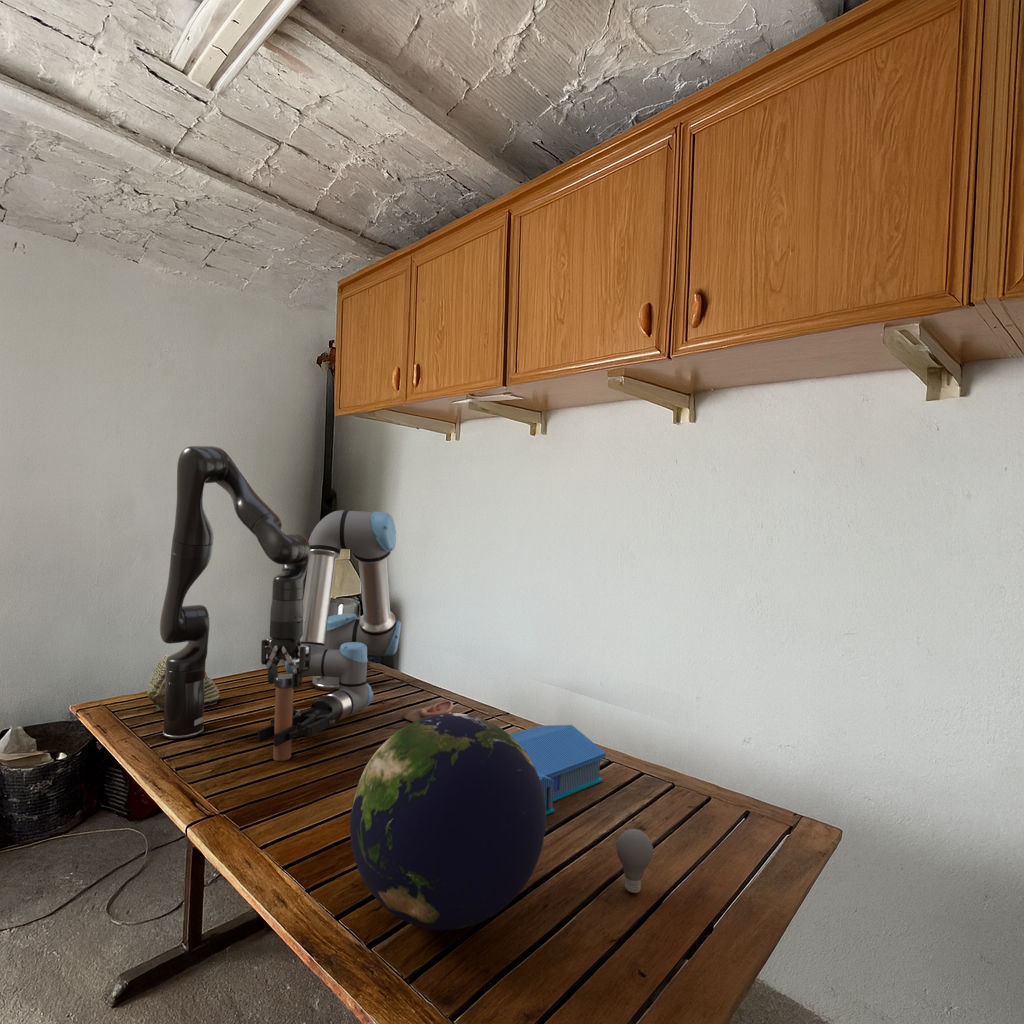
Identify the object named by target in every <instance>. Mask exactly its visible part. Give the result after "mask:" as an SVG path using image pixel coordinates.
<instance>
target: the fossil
mask: <svg viewBox="0 0 1024 1024" xmlns="http://www.w3.org/2000/svg"><path fill="white" fill-rule="evenodd" d="M171 655H172V654H165V655H164V656H163V657H162V658H161V659H160V660H159V662H158V663H157V666H156V667H155V669H154V670H153V672H152V675H151V677H150V680H149V684H148V688H147V697H148V699H149V700H150V701H152V703H153V704H154V706H155V711H158V712H159V711H162V712H163V711H164V705H165V674H166V660H167V658H168V657H169V656H171ZM220 698H221V696H220V690H219V688H218V686H217V685H216V683H215V682H214V681H213V679H212V678H211V677H209V675H208V674H207V672H206V671H205V693H204V707H207V706H213V705H215V704H217V703H218V701H219V699H220Z"/></svg>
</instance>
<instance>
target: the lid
mask: <svg viewBox="0 0 1024 1024" xmlns="http://www.w3.org/2000/svg"><path fill="white" fill-rule="evenodd" d="M273 685H274V687H275V688H276V687H279V688H287V687H292V674H288V673H280V674H279V673H278V675H276V676H275V679H274V683H273Z"/></svg>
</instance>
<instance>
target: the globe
mask: <svg viewBox="0 0 1024 1024" xmlns="http://www.w3.org/2000/svg"><path fill="white" fill-rule="evenodd" d="M349 826H350V827H349V832H350V833H349V834H350V844H351V850H352V854H353V858H354V862H355V865H356V867H357V870H358V872H359V875H360V877H361V879H362V880H363V882H364V884H365V886H366V887H367V889H368V890H369V892H370V893H371V895H372V896H373V897H374V899H376V900H377V902H378V903H379V904H380V905H382V907H383V908H384V909H386V911H388V912H390V913H391V914H392V915H393V916H395V917H397V918H398V919H400V920H402V921H403V922H406V923H408V924H410V925H413V926H416V927H418V928H423V929H426V930H433V931H434V930H435V931H454V930H460V929H464V928H469V927H472V926H475V925H478V924H481V923H483V922H484V921H487V920H488V919H490V918H492V917H494V916H495V915H496V914H498V913H500V912H501V911H503V910H504V909H505V908H506V907H507V906H508V905H509V904H511V903H512V902H513V900H515V898H516V897H517V896H518V895H519V894H520V892H521V891H522V890H523V889H524V887H525V886H526V884H527V883H528V882H529V880H530V877H531V876H532V875H533V872H534V870H535V868H536V867H537V865H538V862H539V858H540V856H541V853H542V849H543V845H544V840H545V835H546V826H547V815H546V807H545V799H544V794H543V789H542V785H541V782H540V779H539V776H538V774H537V771H536V768H535V766H534V764H533V763H532V761H531V759H530V758H529V756H528V754H527V753H526V752H525V750H524V749H523V748H522V747H521V745H520V744H519V743H518V742H517V741H516V740H515V739H514V738H513V737H512V736H511V735H510V733H508V732H507V731H506V730H504V729H503V728H501V727H500V726H498V725H497V724H495V723H493V722H491V721H488V720H486V719H484V718H482V717H479V716H475V715H470V714H466V713H459V712H458V713H457V712H455V713H452V714H439V715H434V716H429V717H426V718H423V719H420V720H418V721H415V722H411V723H409V724H407V725H405V726H404V727H402V728H400V729H399V730H397V731H396V732H395V733H393V734H392V735H391V736H390V737H388V738H387V739H386V740H385V741H384V742H383V743H382V744H381V745H380V746H379V748H378V749H377V750H376V751H375V752H374V753H373V755H372V756H371V757H370V759H369V761H368V762H367V764H366V766H365V767H364V769H363V771H362V774H361V775H360V777H359V780H358V782H357V785H356V789H355V792H354V795H353V799H352V804H351V809H350V819H349Z"/></svg>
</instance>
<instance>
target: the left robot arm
mask: <svg viewBox="0 0 1024 1024" xmlns="http://www.w3.org/2000/svg"><path fill="white" fill-rule="evenodd" d="M214 483H215V484H217V485H218V486H219V487H221V488H222V489H223V490H225V492H226V493H228V495H229V497H230V498H231V501H232V504H233V509H234V511H235V515H236V516H237V518H238V519H239V521H240V522H241V523H242V525H244V526H245V527H246V528H247V530H249V531H250V532H251V534H253V535H254V536H255V538H256V539H257V541H258V544H259V545H260V547H261V549H262V551H263V553H264V554H265V555H266V557H267V558H268V559H269V560H270V561H272V562H273V563H275V564H277V565H281V566H282V568H281V571H280V572H279V573H277V574H275V576H274V577H273V579H272V586H271V587H272V588H271V604H270V612H269V613H270V615H269V618H270V619H269V637H270V638H266V639H262V640H261V643H260V644H261V645H260V646H261V647H260V648H261V651H260V652H261V653H260V663H261V665H265V666H266V668H267V683H268V684H270V685H274V679H275V676H276V675H279V673H278V672H279V668H278V665H279V663H280V662H281V661H282V660H283V662H285V661H287V662H288V665H290V666H291V668H292V670H293V674H292V689H294V690H298V689H301V687H302V686H303V676H302V674H303V672H304V671H307V670H310V660H311V646H310V645H308V646H303V645H301V643H300V638H301V637H302V635H303V613H304V606H303V598H304V580H305V577H306V576H307V570H308V563H309V559H310V545H309V542H308V541H309V539H308V538H307V537H306V536H304V535H303V534H298V533H290V534H285V533H284V532H283V531H282V526H283V522H282V519H281V518H280V516H278V514H276V513H275V512H274V510H273V509H272V508H271V507H270V506H268V504H267V503H266V502H265V501H263V500H262V499H261V497H260V496H259V495H258V494H257V493H256V492H255V490H254V489H253V487H252V486H251V485H250V483H249V482H248V481H247V480H246V478H245V477H244V475H243V473H242V472H241V471H240V469H239V468H238V467H237V465H236V463H235V462H234V461H233V459H232V458H231V456H230V455H229V454H228V453H227V452H226V451H225V450H224V449H223V448H221V447H218V446H213V445H211V446H210V445H209V446H208V445H191V446H187V447H184V449H183V450H182V451H180V454H179V457H178V460H177V466H176V506H175V517H174V519H175V520H174V528H173V533H172V539H171V540H172V541H171V549H170V559H169V569H168V570H169V571H168V577H167V578H168V579H167V585H166V590H165V595H164V600H163V604H162V609H161V615H160V618H159V634H160V635H159V636H160V638H161V640H162V641H163V642H164V644H170V645H172V644H180V643H186V645H185V646H184V647H183V648H181V649H180V650H179V651H177V652H174V653H172V654H170V655H171V656H169V657H168V658H167V660H166V674H165V705H164V710H163V731H162V737H164V738H166V739H169V740H185V739H190V738H191V739H192V738H194V737H197V736H199V735H202V734H203V732H204V730H205V729H204V722H205V721H204V718H205V706H204V693H205V672H206V664H207V663H206V662H207V658H208V657H207V656H208V648H209V636H210V622H211V621H210V613H209V610H208V609H207V607H206V606H205V605H203V604H192V605H191V604H190V605H183V604H184V602H185V598H186V596H187V593H189V590H190V589H191V587H192V586H193V585H194V583H195V582H196V581H197V580H198V579H199V577H200V576H201V575H202V574H203V573H204V571H205V570H206V568H207V567H208V565H209V564H210V561H211V559H212V553H213V545H214V531H213V528H212V525H211V523H210V520H209V518H208V516H207V514H206V511H205V509H204V501H203V499H204V490H205V485H206V484H214ZM295 657H296V660H293V659H294V658H295ZM304 663H305V666H304ZM296 664H297V666H298V668H297V666H296Z"/></svg>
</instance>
